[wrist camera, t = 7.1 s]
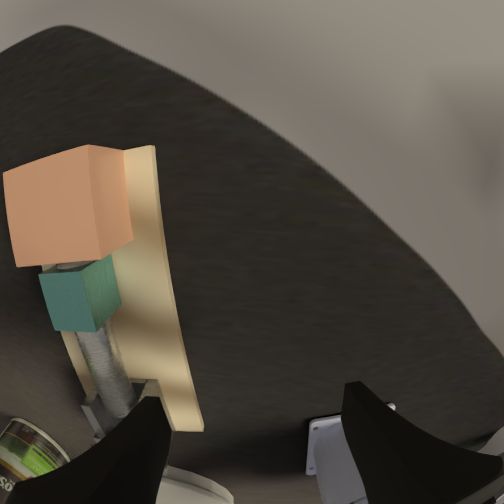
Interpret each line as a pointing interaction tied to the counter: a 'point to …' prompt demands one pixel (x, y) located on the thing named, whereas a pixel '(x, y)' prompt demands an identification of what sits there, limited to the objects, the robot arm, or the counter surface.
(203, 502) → the lid
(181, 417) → the board
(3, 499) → the coffee can
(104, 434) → the gray notched block
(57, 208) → the socket
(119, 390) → the tube
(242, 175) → the counter surface
